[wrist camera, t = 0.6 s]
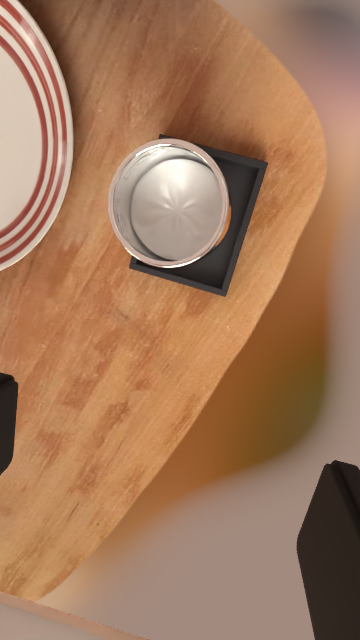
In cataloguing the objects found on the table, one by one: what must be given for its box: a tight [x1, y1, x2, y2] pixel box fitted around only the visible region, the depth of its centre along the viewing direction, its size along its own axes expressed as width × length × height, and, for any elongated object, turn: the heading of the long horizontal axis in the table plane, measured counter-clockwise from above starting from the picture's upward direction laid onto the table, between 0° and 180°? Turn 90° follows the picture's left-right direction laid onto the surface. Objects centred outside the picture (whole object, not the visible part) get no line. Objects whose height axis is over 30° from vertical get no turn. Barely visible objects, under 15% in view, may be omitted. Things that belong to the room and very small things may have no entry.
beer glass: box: [108, 139, 233, 268], centre depth 25 cm, size 7×7×15 cm
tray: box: [129, 134, 268, 297], centre depth 32 cm, size 12×10×2 cm
